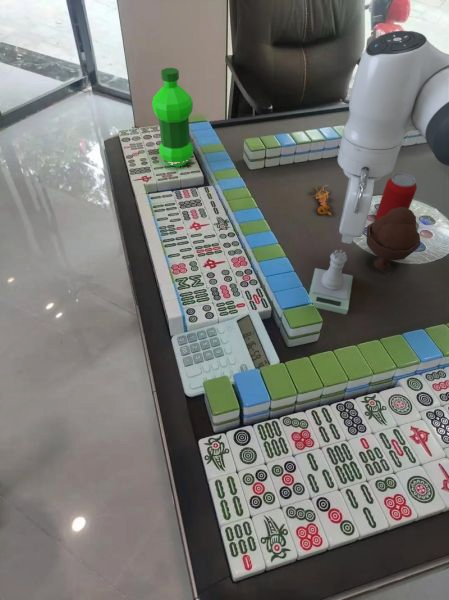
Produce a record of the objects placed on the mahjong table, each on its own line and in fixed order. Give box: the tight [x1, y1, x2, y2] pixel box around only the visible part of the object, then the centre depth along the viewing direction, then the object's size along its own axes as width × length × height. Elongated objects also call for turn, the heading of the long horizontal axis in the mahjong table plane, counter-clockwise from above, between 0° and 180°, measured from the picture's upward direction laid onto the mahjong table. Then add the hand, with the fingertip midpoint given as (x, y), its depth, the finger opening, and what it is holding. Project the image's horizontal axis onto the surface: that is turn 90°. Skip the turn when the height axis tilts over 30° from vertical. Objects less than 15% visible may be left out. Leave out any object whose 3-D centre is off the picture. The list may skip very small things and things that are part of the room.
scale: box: [308, 267, 354, 315], centre depth 89 cm, size 8×10×3 cm
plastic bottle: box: [151, 67, 195, 168], centre depth 116 cm, size 10×10×25 cm
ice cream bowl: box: [366, 207, 421, 271], centre depth 90 cm, size 11×11×15 cm
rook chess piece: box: [321, 249, 348, 290], centre depth 85 cm, size 4×4×8 cm
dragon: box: [311, 184, 332, 216], centre depth 111 cm, size 4×11×4 cm, turn 178°
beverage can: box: [375, 172, 418, 220], centre depth 103 cm, size 7×7×12 cm
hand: (349, 224), depth 77 cm, fingers open, 8 cm apart
